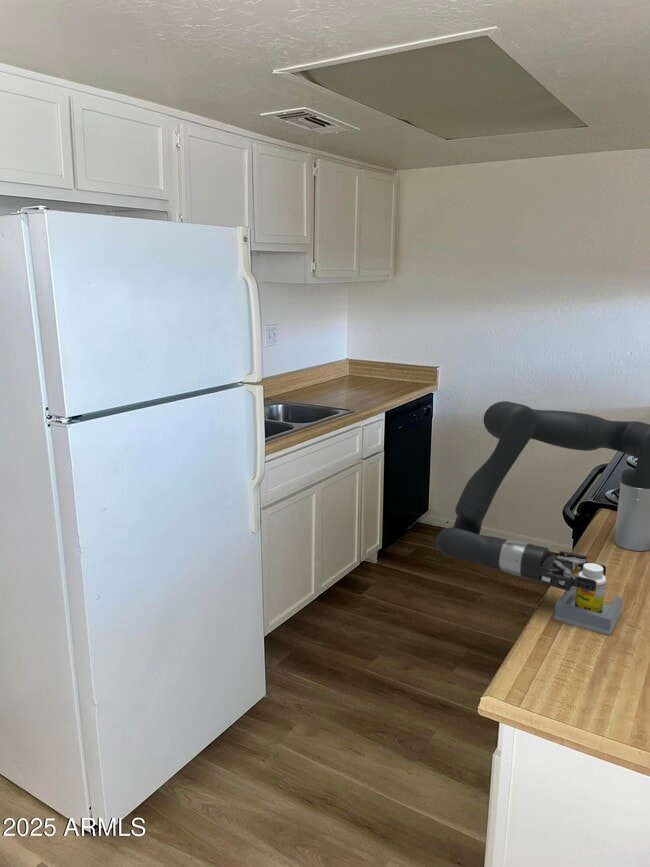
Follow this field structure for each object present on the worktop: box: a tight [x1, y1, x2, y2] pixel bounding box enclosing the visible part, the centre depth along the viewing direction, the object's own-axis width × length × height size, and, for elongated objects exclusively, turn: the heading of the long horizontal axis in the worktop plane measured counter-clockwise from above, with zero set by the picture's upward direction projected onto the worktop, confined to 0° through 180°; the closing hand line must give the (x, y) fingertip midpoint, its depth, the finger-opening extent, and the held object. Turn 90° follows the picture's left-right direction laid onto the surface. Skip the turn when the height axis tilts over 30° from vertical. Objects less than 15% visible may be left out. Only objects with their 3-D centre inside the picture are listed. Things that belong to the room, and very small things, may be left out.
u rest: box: [553, 587, 623, 636], centre depth 140 cm, size 11×11×4 cm
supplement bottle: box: [575, 562, 607, 613], centre depth 139 cm, size 6×6×10 cm
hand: (600, 578), depth 138 cm, fingers open, 8 cm apart
